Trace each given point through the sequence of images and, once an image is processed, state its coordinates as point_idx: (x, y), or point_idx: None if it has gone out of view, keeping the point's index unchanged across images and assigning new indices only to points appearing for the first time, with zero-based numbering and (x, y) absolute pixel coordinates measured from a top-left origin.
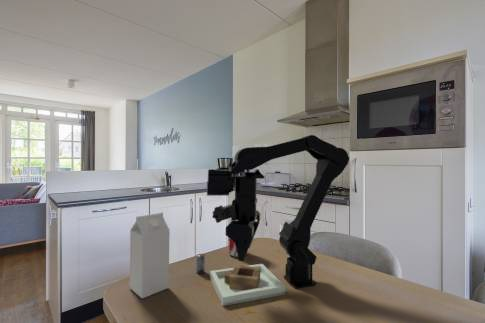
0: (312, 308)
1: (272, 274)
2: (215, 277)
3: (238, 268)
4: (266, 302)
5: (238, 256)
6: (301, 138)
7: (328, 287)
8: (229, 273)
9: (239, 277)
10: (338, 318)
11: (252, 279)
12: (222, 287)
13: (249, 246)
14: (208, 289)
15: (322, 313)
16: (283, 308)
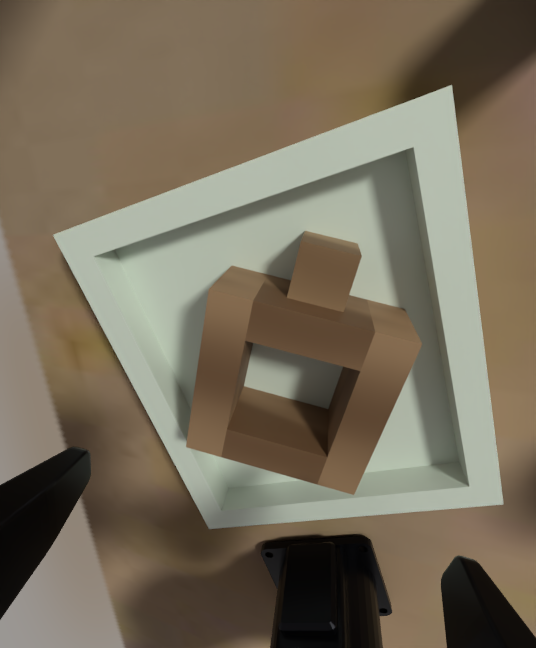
0: (138, 539)
1: (332, 515)
2: (308, 159)
3: (354, 361)
4: None
5: (19, 476)
6: None
7: None
8: (333, 280)
9: (203, 355)
10: (102, 572)
11: (189, 424)
12: (160, 227)
13: (446, 606)
14: (252, 110)
15: (117, 551)
16: (122, 464)
